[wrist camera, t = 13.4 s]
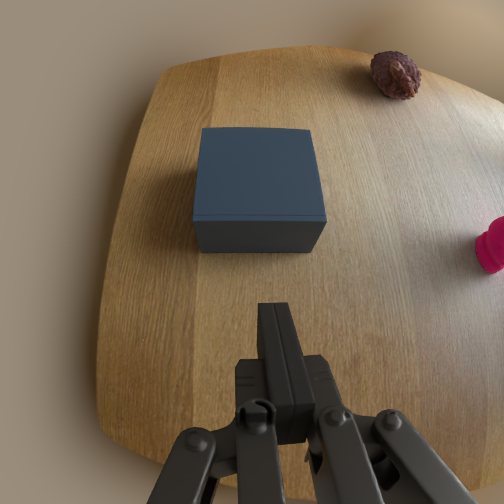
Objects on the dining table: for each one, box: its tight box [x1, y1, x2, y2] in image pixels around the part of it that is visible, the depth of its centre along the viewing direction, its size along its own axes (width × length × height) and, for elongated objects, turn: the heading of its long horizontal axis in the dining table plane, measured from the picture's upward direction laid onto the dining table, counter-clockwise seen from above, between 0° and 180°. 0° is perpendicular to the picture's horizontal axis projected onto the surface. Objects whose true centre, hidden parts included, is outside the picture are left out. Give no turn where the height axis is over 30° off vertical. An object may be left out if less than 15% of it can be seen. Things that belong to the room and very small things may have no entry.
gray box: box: [192, 127, 327, 253], centre depth 31 cm, size 7×12×12 cm
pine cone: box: [370, 51, 421, 100], centre depth 44 cm, size 18×10×10 cm
